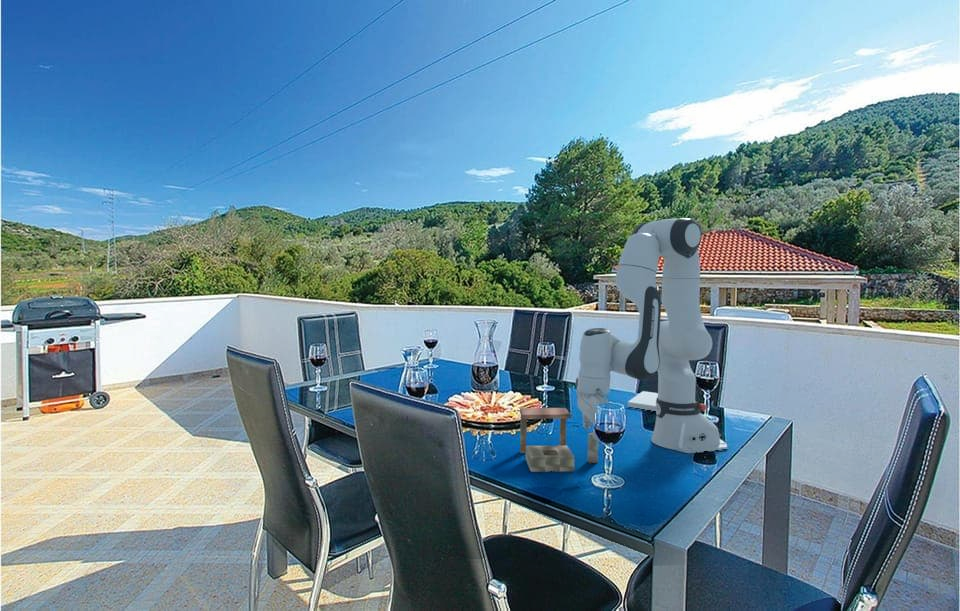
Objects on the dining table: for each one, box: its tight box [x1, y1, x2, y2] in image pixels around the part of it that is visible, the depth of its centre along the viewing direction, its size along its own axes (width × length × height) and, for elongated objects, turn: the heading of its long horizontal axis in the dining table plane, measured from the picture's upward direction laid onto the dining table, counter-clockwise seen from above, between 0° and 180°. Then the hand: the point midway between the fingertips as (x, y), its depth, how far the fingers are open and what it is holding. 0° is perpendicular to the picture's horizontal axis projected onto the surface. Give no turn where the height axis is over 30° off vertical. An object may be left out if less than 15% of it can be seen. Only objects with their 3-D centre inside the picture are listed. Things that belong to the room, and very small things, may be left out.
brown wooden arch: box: [519, 407, 572, 454], centre depth 145 cm, size 14×7×13 cm, turn 93°
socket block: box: [525, 445, 575, 473], centre depth 138 cm, size 12×9×4 cm
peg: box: [587, 432, 599, 464], centre depth 140 cm, size 3×3×8 cm
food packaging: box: [627, 390, 658, 412], centre depth 203 cm, size 15×3×20 cm
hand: (591, 433), depth 139 cm, fingers open, 8 cm apart
